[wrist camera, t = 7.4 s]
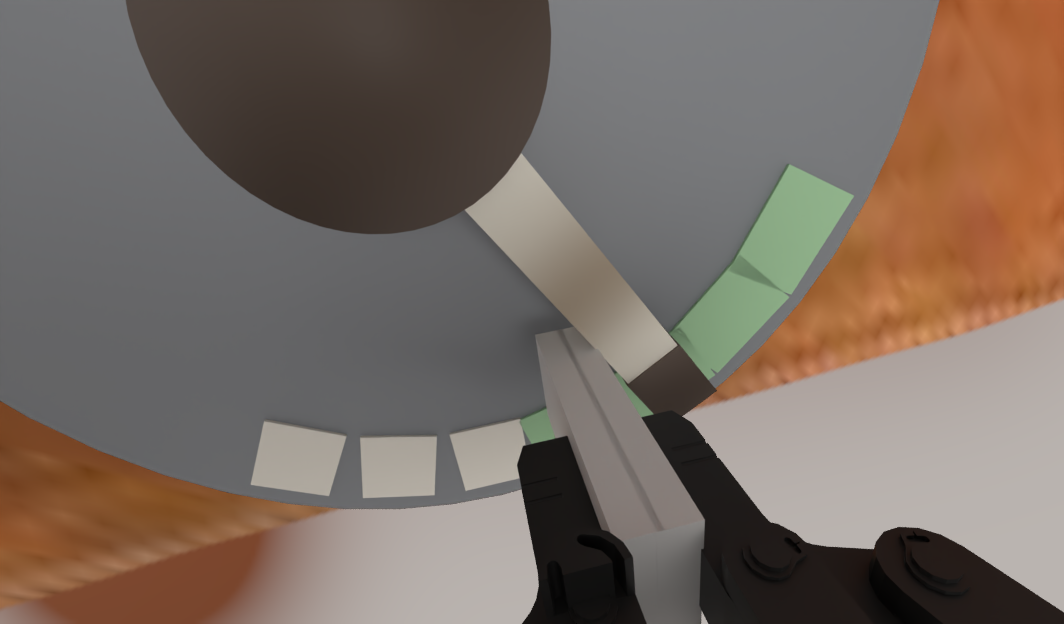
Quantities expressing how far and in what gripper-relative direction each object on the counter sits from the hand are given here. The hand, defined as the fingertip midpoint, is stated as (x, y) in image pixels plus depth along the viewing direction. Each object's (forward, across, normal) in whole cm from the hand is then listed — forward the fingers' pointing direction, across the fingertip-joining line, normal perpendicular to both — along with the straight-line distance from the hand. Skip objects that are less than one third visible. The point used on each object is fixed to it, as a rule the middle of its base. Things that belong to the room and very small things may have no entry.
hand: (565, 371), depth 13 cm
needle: (+1, 0, +5) cm, 5 cm away
